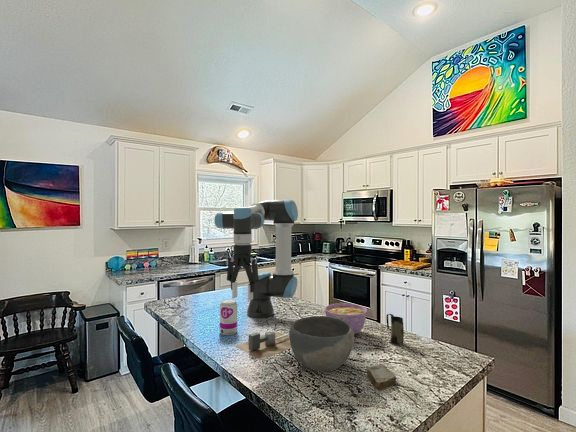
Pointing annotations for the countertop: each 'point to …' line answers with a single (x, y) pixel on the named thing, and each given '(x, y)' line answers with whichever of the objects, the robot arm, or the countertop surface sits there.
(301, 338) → the bowl
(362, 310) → the bowl of food
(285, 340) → the board
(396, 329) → the mug
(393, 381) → the stone
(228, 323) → the supplement can
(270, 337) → the peg key
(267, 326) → the countertop surface
